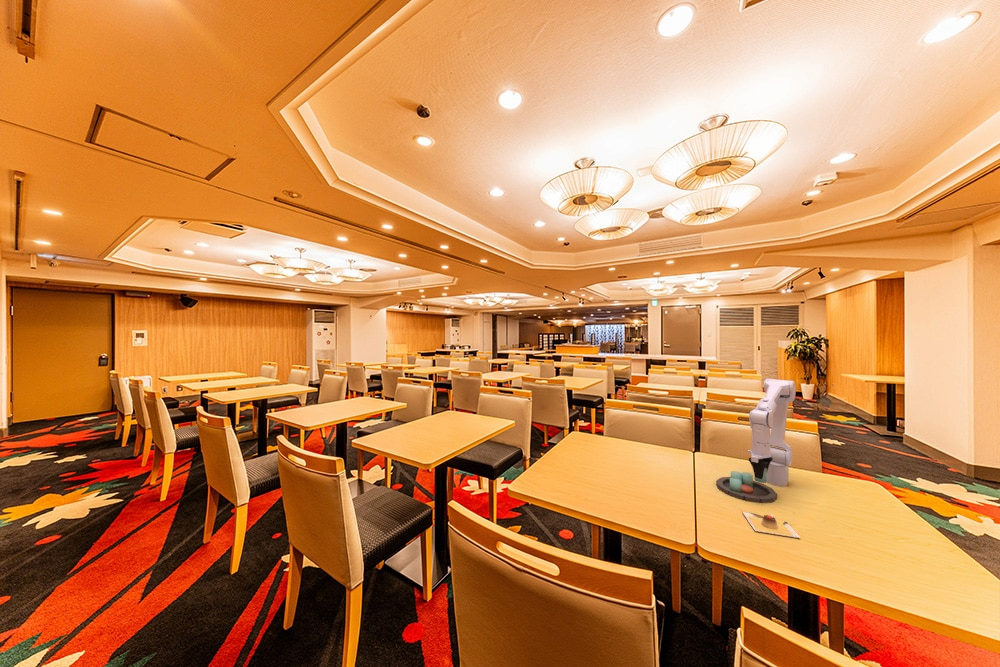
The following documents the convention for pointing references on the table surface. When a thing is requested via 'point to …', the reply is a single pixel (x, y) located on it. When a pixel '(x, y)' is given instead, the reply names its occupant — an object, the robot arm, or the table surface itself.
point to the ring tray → (755, 497)
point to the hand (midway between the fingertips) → (760, 476)
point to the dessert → (770, 524)
